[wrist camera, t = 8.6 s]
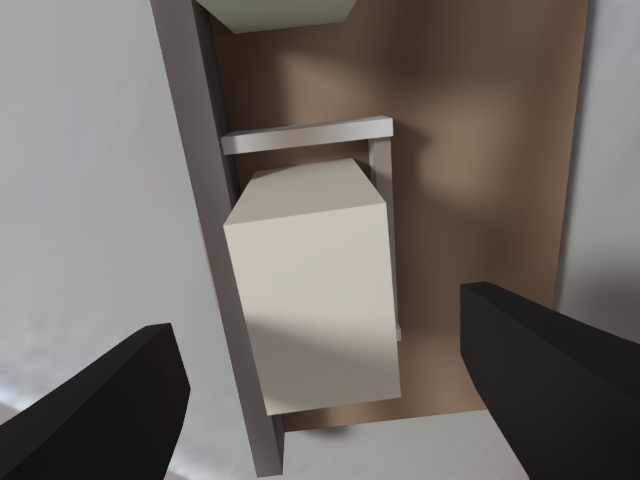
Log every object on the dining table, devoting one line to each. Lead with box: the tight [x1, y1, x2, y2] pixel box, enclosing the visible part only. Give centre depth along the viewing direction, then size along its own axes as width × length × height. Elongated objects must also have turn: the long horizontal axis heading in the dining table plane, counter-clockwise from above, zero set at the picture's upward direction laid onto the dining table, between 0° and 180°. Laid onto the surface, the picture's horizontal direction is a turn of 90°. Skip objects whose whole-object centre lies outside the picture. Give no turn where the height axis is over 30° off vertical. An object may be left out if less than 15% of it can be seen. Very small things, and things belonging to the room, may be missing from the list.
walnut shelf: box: [150, 0, 589, 478], centre depth 16 cm, size 15×26×4 cm, turn 6°
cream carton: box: [223, 158, 401, 416], centre depth 14 cm, size 4×6×7 cm
